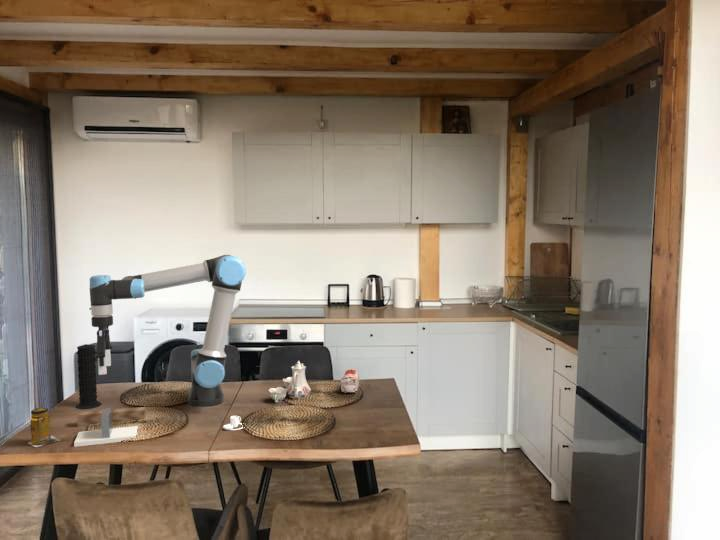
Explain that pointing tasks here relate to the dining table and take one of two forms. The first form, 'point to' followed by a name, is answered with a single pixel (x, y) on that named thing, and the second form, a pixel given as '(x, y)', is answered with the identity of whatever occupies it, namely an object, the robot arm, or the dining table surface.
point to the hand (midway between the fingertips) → (105, 370)
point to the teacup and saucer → (233, 423)
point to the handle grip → (87, 377)
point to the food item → (350, 381)
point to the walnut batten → (117, 415)
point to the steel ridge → (106, 423)
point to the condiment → (40, 428)
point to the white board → (96, 438)
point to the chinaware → (292, 385)
